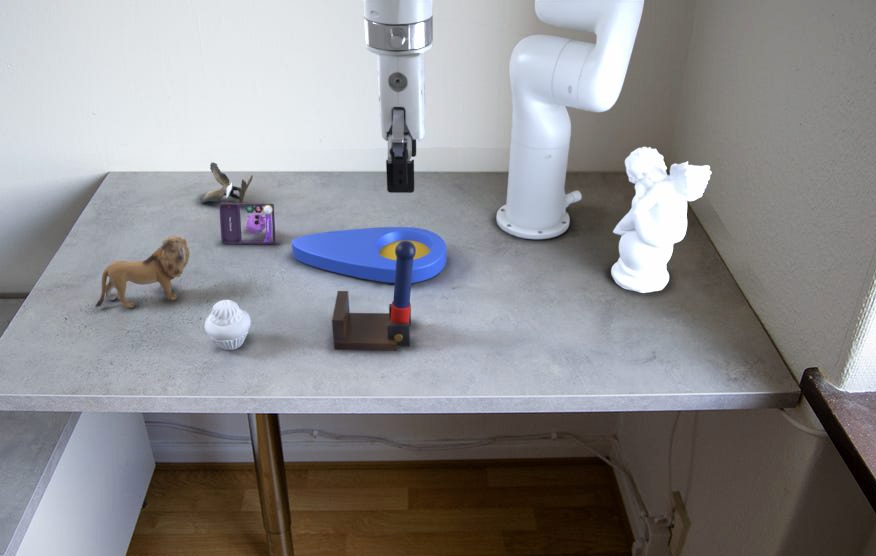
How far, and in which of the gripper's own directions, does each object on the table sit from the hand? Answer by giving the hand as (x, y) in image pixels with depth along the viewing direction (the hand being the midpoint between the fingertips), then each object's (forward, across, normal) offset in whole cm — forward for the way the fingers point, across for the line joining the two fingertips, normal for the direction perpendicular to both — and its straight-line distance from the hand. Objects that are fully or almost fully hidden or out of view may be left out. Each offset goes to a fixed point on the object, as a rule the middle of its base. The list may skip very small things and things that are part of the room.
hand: (402, 173), depth 95 cm
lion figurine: (+24, +7, +39) cm, 46 cm away
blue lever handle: (+16, -2, -1) cm, 16 cm away
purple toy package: (+24, +25, +27) cm, 44 cm away
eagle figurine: (+24, +38, +34) cm, 57 cm away
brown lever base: (+24, -2, +5) cm, 24 cm away
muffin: (+24, -4, +24) cm, 34 cm away
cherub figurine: (+25, +13, -38) cm, 47 cm away
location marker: (+24, +18, +7) cm, 31 cm away
